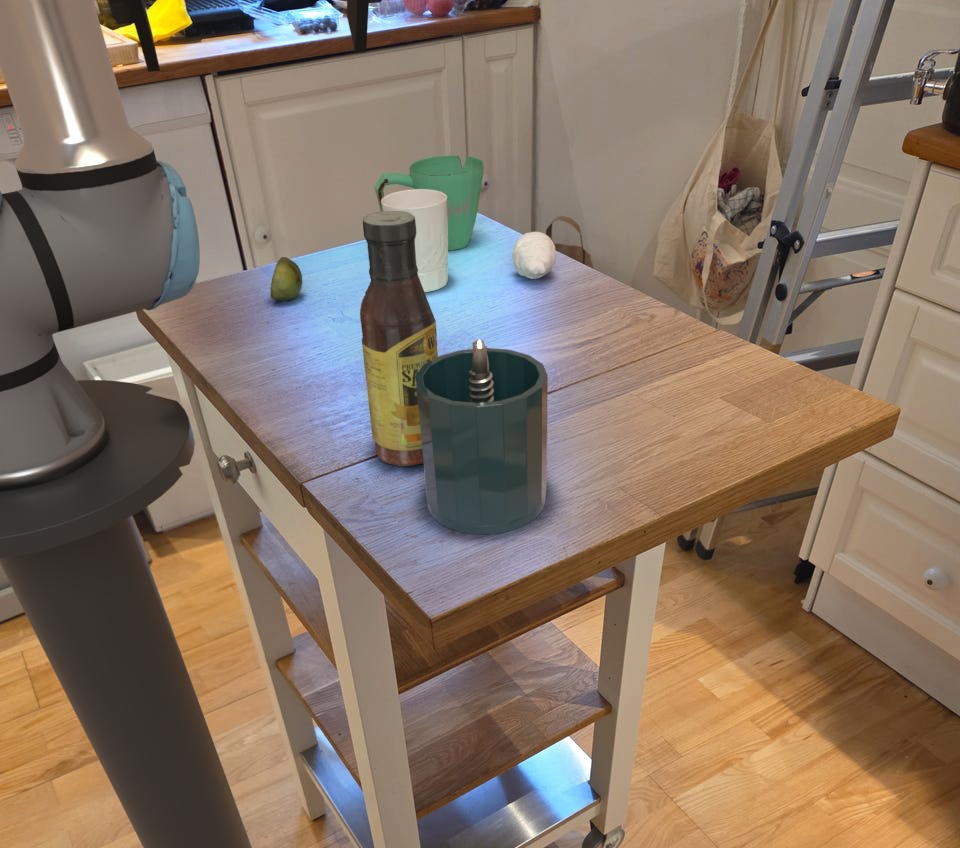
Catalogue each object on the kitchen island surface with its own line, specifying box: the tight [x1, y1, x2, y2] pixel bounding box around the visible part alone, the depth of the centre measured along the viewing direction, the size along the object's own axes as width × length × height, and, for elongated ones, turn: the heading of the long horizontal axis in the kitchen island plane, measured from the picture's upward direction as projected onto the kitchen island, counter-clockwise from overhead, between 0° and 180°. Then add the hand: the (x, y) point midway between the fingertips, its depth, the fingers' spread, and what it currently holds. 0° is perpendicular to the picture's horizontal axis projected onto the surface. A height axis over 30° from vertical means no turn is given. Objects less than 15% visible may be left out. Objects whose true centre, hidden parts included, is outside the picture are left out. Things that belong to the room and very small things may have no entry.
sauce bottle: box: [359, 211, 439, 467], centre depth 73 cm, size 6×6×20 cm
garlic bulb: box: [511, 231, 557, 280], centre depth 108 cm, size 6×6×5 cm
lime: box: [269, 256, 303, 302], centre depth 107 cm, size 4×5×5 cm
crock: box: [415, 347, 549, 535], centre depth 69 cm, size 10×10×11 cm
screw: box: [469, 338, 494, 403], centre depth 68 cm, size 13×5×5 cm
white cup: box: [381, 188, 449, 293], centre depth 108 cm, size 8×8×10 cm
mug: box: [373, 154, 485, 251], centre depth 118 cm, size 15×10×10 cm
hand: (255, 43), depth 58 cm, fingers open, 13 cm apart
